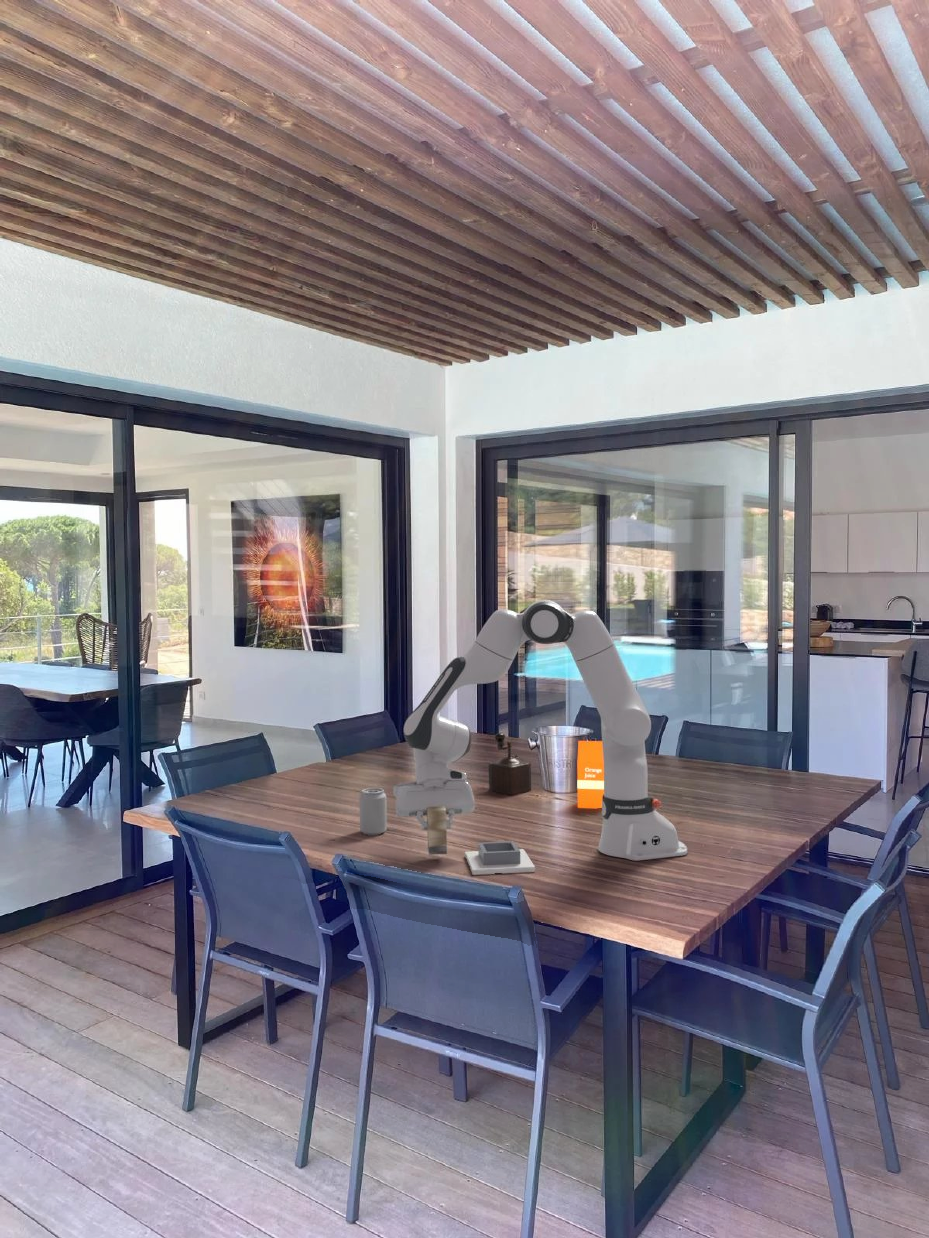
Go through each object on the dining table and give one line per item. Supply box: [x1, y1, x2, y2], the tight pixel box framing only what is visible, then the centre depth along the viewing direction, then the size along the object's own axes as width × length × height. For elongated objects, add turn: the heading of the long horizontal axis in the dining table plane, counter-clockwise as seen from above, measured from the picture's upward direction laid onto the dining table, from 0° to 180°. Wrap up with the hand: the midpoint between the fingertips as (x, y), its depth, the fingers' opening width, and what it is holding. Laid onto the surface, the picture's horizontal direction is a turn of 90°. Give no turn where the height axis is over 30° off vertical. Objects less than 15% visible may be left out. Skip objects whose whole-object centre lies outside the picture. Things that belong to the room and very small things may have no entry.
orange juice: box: [576, 740, 604, 809], centre depth 286 cm, size 8×9×20 cm
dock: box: [464, 840, 536, 876], centre depth 228 cm, size 15×15×4 cm
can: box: [359, 787, 388, 836], centre depth 258 cm, size 8×8×12 cm
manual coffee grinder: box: [488, 732, 532, 796], centre depth 309 cm, size 16×11×18 cm
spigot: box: [426, 806, 448, 856], centre depth 232 cm, size 4×4×11 cm
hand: (437, 828), depth 231 cm, fingers closed on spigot, 4 cm apart
